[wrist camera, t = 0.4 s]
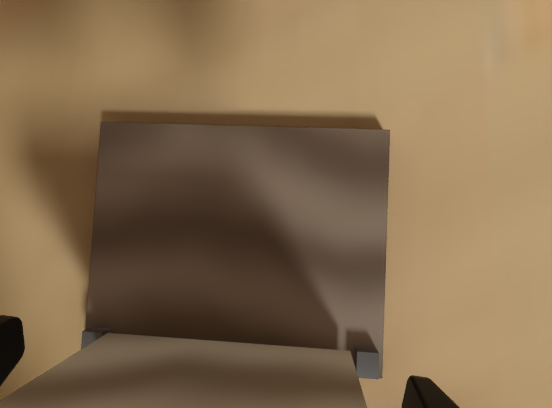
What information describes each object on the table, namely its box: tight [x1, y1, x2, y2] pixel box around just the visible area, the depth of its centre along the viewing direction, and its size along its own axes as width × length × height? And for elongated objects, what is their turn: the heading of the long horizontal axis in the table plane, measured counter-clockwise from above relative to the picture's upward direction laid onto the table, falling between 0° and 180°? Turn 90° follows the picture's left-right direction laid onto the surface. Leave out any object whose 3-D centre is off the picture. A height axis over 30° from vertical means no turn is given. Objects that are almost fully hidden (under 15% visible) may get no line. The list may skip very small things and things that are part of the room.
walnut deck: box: [81, 122, 390, 379], centre depth 23 cm, size 14×18×2 cm
